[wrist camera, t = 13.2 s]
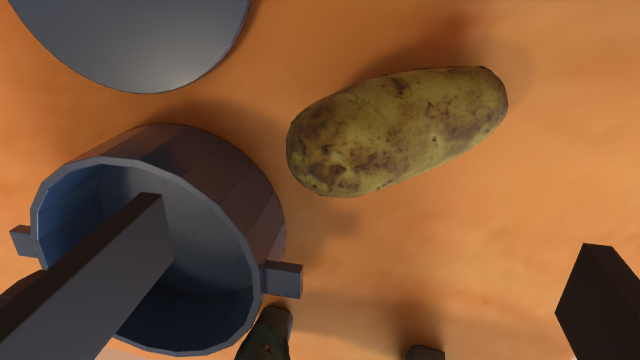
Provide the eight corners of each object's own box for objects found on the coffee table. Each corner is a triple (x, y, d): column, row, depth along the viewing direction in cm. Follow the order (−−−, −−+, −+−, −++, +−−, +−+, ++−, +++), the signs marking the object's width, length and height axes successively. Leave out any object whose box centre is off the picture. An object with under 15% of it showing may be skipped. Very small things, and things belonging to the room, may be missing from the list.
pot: (44, 111, 33) (-39, 140, 27) (320, 136, 29) (298, 177, 23) (93, 279, 41) (39, 331, 35) (314, 314, 37) (297, 379, 31)
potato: (478, 177, 28) (504, 241, 21) (305, 160, 30) (276, 213, 23) (505, 59, 25) (548, 89, 18) (306, 48, 27) (272, 70, 20)
